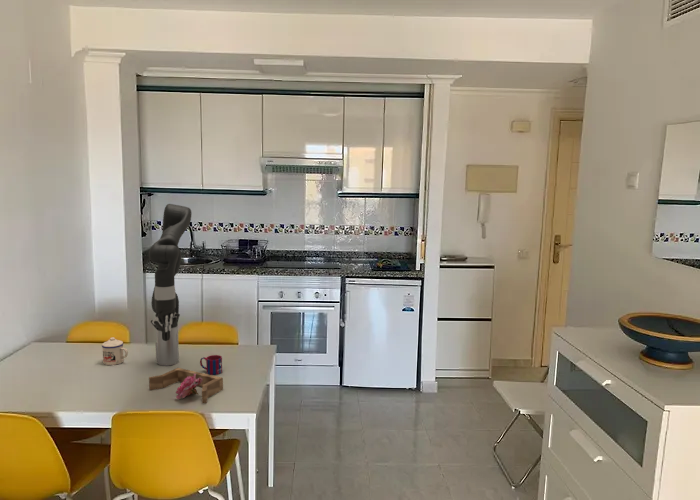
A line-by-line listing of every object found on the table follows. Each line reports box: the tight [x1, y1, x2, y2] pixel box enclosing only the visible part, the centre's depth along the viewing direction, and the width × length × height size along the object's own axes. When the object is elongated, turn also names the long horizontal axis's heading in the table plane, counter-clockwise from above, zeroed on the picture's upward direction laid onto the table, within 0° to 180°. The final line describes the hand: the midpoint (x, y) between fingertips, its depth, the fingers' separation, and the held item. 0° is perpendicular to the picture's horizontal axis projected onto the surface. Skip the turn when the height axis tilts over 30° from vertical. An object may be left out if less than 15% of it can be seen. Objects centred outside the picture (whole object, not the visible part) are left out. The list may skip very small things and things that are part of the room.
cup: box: [199, 354, 223, 376], centre depth 234 cm, size 7×10×7 cm
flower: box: [175, 374, 203, 400], centre depth 207 cm, size 11×10×10 cm
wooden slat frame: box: [148, 367, 224, 404], centre depth 214 cm, size 29×14×5 cm, turn 65°
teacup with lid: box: [101, 337, 129, 366], centre depth 243 cm, size 12×9×12 cm
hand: (166, 340), depth 205 cm, fingers closed
